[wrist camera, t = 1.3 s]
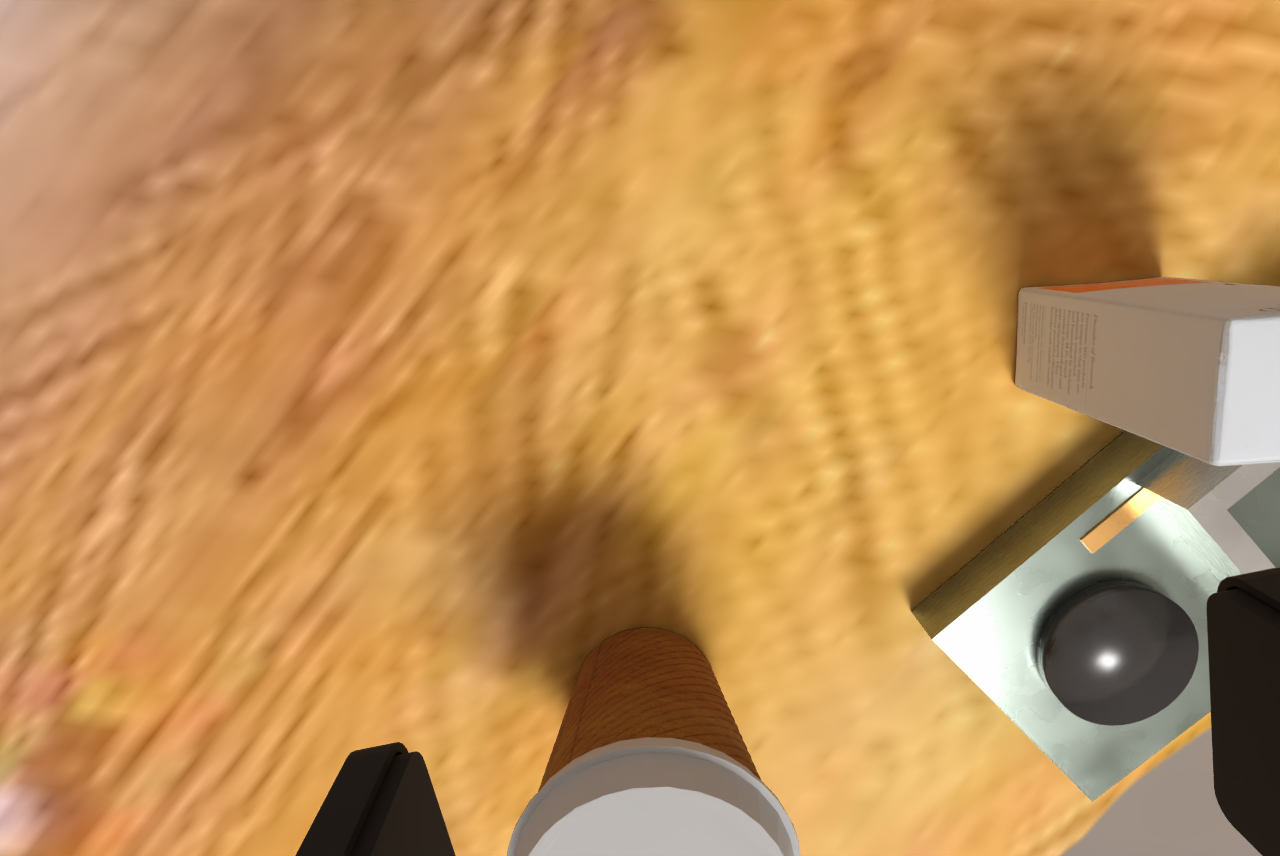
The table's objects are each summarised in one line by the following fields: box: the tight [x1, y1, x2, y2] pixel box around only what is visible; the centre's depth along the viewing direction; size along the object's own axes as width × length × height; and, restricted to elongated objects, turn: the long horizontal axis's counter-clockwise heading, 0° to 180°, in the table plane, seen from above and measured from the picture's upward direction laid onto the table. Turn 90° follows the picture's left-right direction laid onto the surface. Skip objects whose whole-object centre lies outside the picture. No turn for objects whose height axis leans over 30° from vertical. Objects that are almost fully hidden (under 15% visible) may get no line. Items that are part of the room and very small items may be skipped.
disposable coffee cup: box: [507, 628, 801, 856], centre depth 30 cm, size 10×10×12 cm
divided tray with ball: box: [911, 431, 1280, 801], centre depth 32 cm, size 20×11×6 cm, turn 134°
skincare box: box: [1015, 277, 1280, 466], centre depth 27 cm, size 6×4×12 cm
